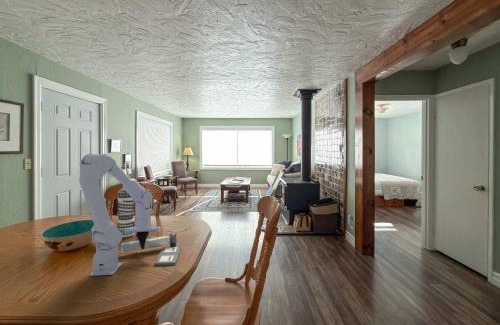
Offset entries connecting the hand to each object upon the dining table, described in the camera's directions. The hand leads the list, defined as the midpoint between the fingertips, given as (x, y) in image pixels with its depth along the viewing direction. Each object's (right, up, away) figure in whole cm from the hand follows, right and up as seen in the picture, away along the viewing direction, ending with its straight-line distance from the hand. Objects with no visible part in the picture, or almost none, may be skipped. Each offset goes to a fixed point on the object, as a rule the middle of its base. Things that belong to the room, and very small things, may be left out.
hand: (143, 248), depth 115 cm
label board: (+12, -3, -2) cm, 12 cm away
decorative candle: (-20, -2, +28) cm, 35 cm away
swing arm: (0, -1, +4) cm, 4 cm away
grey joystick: (+10, -2, +10) cm, 15 cm away
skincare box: (-8, -2, +22) cm, 23 cm away
